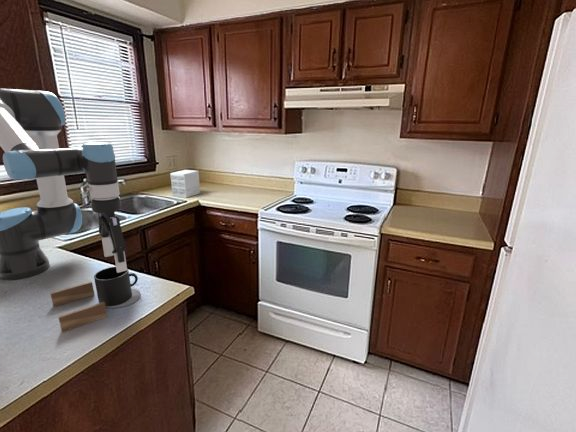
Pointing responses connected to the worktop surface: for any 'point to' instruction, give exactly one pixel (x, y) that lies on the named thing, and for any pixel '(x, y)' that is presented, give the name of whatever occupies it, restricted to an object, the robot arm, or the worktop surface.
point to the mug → (113, 286)
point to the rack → (80, 315)
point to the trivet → (133, 299)
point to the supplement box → (185, 183)
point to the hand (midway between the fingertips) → (115, 263)
